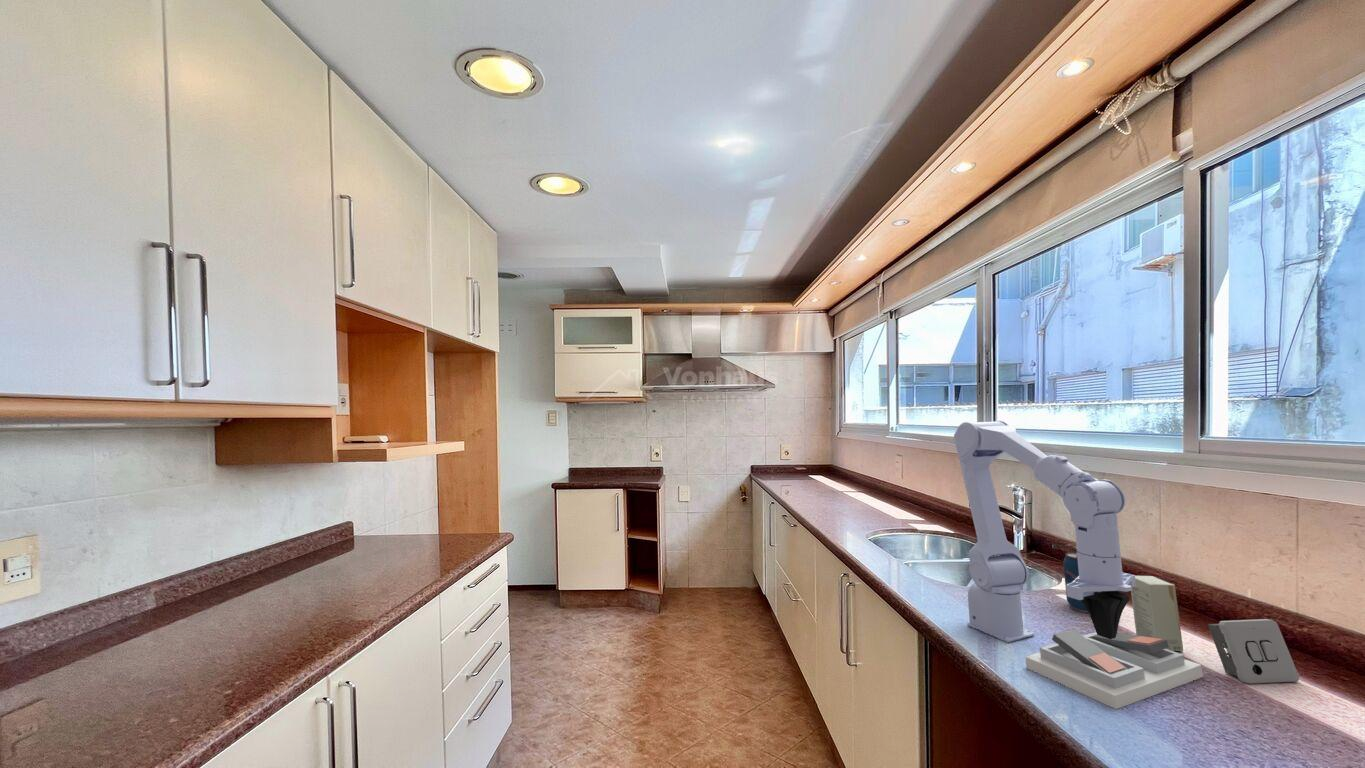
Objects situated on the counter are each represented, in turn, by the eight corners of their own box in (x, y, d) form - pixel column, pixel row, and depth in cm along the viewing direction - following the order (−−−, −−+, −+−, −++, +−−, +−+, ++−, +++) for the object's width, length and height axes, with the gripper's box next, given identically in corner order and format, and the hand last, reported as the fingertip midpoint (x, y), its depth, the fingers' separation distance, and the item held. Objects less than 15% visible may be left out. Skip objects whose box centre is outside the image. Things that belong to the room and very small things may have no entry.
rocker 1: (1051, 639, 89) (1054, 633, 89) (1070, 634, 91) (1072, 628, 90) (1107, 681, 81) (1109, 674, 80) (1126, 674, 83) (1129, 668, 82)
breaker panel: (1026, 668, 90) (1024, 647, 90) (1108, 643, 98) (1106, 624, 98) (1116, 709, 77) (1113, 684, 77) (1202, 677, 85) (1200, 655, 85)
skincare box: (1184, 652, 93) (1177, 585, 94) (1157, 651, 94) (1150, 584, 95) (1159, 637, 99) (1152, 574, 100) (1134, 636, 100) (1128, 574, 101)
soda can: (1060, 602, 119) (1055, 551, 120) (1092, 602, 118) (1087, 551, 119) (1079, 614, 112) (1074, 559, 113) (1113, 614, 111) (1108, 559, 112)
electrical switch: (1245, 685, 82) (1233, 625, 83) (1212, 673, 87) (1201, 616, 88) (1302, 683, 82) (1288, 623, 83) (1265, 670, 87) (1253, 614, 88)
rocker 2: (1094, 643, 92) (1092, 635, 93) (1111, 638, 94) (1109, 630, 94) (1151, 653, 84) (1148, 644, 85) (1169, 647, 86) (1166, 638, 86)
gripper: (1096, 565, 78) (1105, 655, 77) (1153, 553, 83) (1162, 637, 82) (1050, 554, 84) (1057, 637, 83) (1105, 543, 89) (1113, 621, 88)
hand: (1106, 636), depth 83 cm, fingers closed
